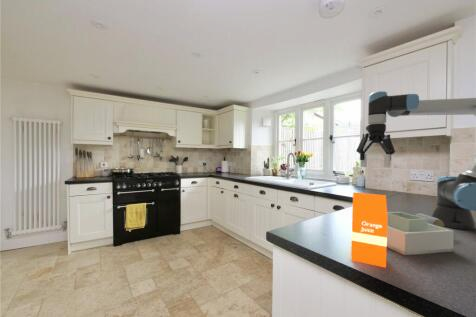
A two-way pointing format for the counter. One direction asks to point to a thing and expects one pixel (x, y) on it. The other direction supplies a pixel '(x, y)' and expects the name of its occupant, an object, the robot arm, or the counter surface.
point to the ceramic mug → (431, 220)
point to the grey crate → (421, 240)
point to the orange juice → (369, 229)
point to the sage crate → (406, 222)
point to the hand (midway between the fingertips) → (375, 167)
